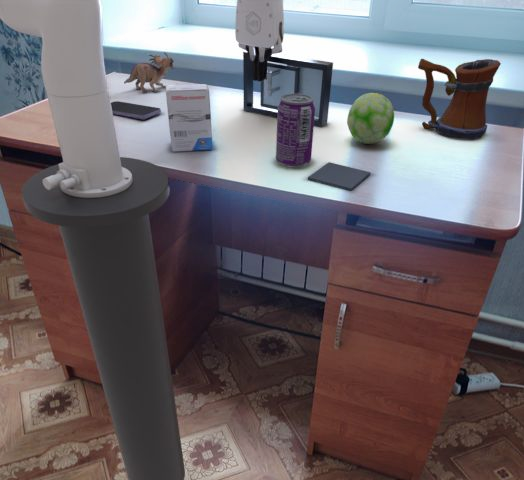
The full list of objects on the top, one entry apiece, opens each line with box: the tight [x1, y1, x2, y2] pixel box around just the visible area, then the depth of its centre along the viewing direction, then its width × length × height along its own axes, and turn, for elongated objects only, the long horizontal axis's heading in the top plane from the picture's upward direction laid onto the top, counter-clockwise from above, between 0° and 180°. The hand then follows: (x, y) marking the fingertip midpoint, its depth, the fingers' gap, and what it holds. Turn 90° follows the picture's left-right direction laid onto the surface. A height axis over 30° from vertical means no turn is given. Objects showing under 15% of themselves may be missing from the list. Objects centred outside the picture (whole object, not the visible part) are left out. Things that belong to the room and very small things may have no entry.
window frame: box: [242, 50, 334, 128], centre depth 119 cm, size 3×22×13 cm, turn 58°
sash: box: [259, 61, 300, 110], centre depth 118 cm, size 6×10×10 cm, turn 58°
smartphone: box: [111, 100, 162, 121], centre depth 124 cm, size 7×1×15 cm
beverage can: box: [275, 94, 315, 168], centre depth 98 cm, size 7×7×12 cm
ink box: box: [165, 83, 213, 153], centre depth 103 cm, size 8×5×12 cm, turn 100°
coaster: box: [307, 162, 372, 192], centre depth 96 cm, size 9×9×1 cm
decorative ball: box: [346, 92, 395, 145], centre depth 108 cm, size 10×10×10 cm
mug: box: [417, 58, 501, 141], centre depth 113 cm, size 18×12×15 cm, turn 77°
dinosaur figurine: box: [123, 52, 175, 94], centre depth 136 cm, size 14×6×9 cm, turn 101°
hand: (259, 79), depth 116 cm, fingers closed
